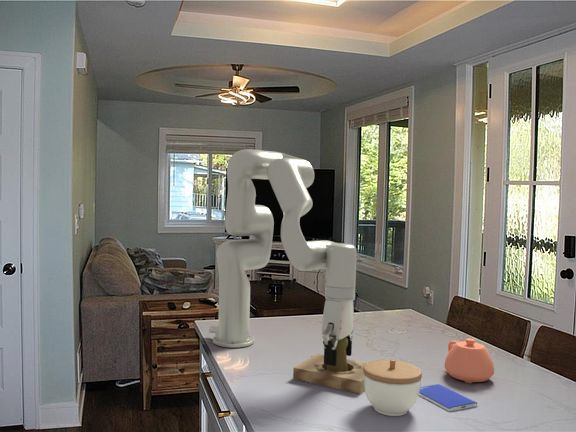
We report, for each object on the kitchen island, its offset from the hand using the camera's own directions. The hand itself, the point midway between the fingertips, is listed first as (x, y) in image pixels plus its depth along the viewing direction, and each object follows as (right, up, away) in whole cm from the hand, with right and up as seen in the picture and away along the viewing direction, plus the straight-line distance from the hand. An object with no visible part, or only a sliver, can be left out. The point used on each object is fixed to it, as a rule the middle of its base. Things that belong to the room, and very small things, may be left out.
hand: (337, 359), depth 140 cm
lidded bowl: (+10, -6, -19) cm, 22 cm away
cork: (0, -5, +1) cm, 5 cm away
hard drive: (+24, -7, -12) cm, 27 cm away
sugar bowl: (+34, -6, +4) cm, 35 cm away
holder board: (0, -5, 0) cm, 5 cm away
